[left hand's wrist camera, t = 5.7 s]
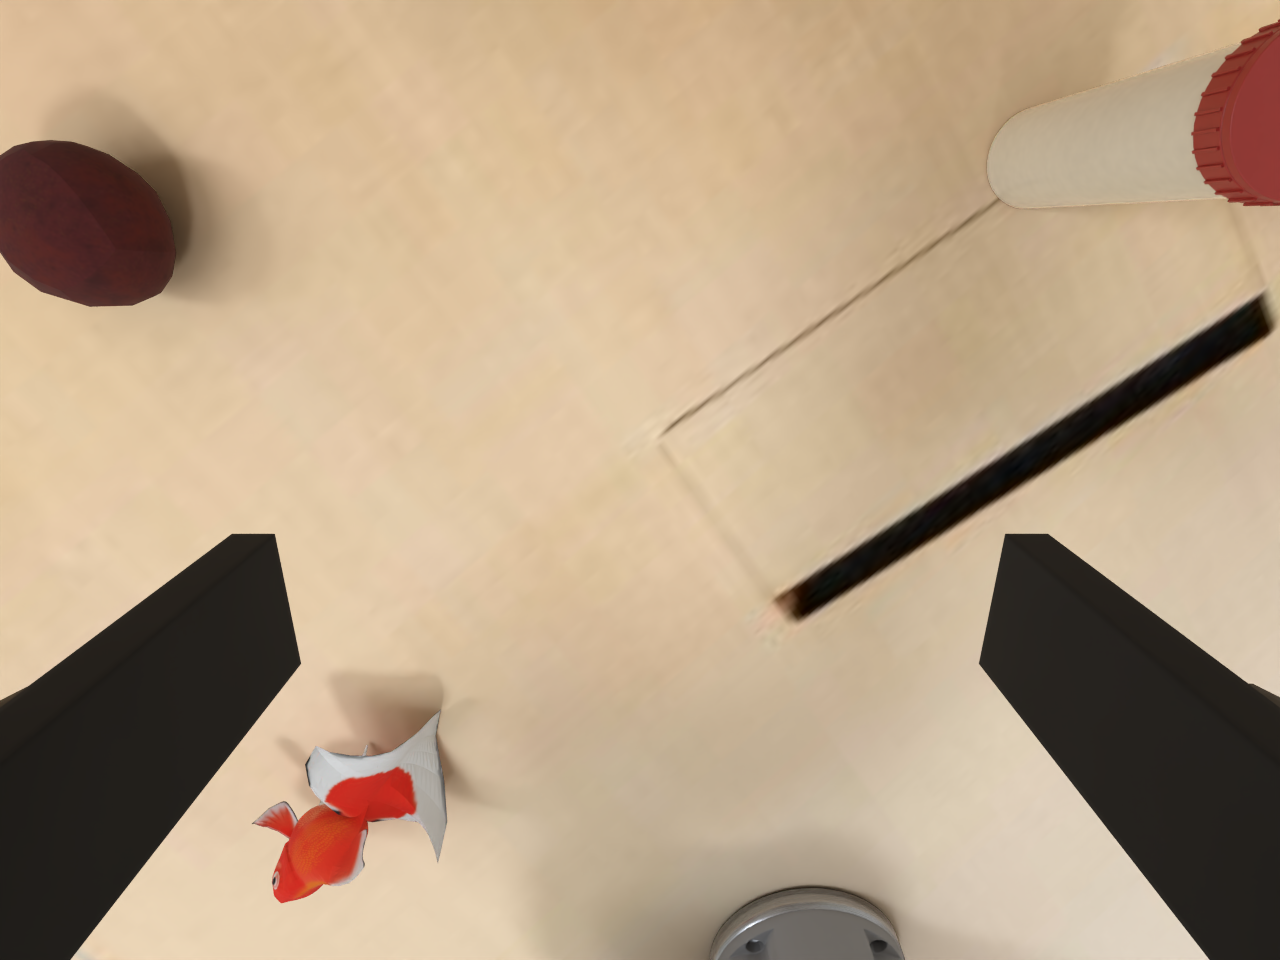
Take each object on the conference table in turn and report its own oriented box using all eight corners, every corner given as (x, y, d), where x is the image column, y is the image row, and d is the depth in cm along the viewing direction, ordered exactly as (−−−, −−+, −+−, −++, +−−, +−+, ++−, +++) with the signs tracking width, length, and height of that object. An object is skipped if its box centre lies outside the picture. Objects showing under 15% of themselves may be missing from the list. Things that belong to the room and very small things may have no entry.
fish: (181, 794, 44) (184, 930, 36) (388, 635, 47) (430, 728, 40) (295, 857, 50) (317, 984, 43) (469, 712, 54) (519, 805, 46)
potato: (126, 119, 35) (5, 93, 28) (237, 253, 37) (149, 258, 30) (31, 206, 36) (-106, 200, 29) (143, 330, 38) (39, 351, 32)
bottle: (983, 213, 36) (1211, 203, 22) (989, 111, 35) (1243, 26, 20) (1076, 203, 36) (1369, 187, 22) (1087, 100, 34) (1414, 6, 20)
